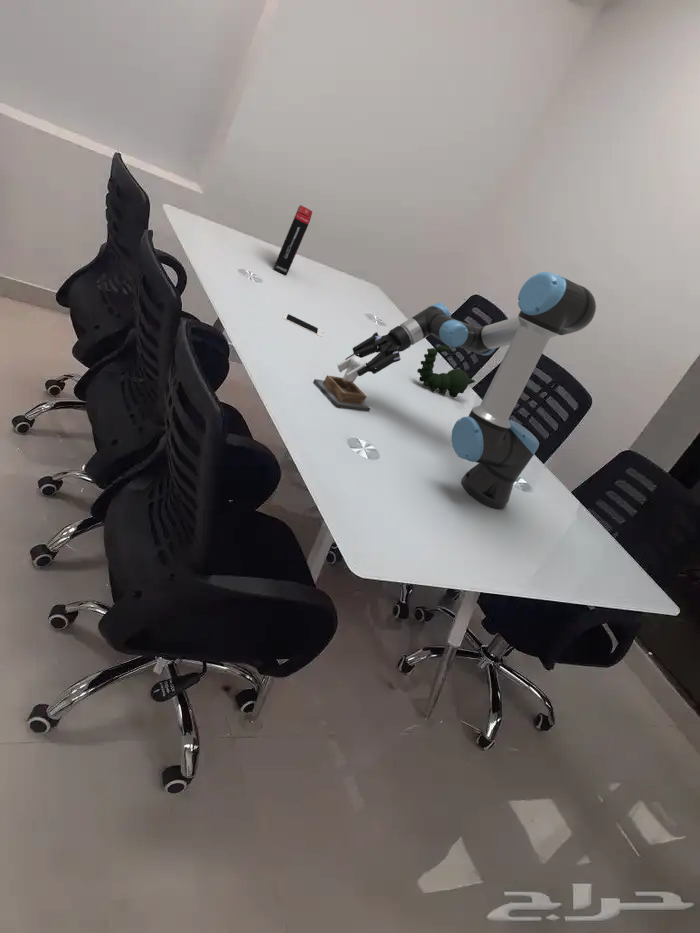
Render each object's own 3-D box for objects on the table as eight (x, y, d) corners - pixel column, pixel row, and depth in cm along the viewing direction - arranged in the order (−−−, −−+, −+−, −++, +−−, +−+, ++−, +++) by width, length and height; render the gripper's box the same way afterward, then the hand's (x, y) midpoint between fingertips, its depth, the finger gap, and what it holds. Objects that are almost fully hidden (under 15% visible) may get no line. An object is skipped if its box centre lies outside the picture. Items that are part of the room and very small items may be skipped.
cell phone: (321, 338, 267) (322, 336, 267) (281, 319, 264) (282, 317, 264) (322, 331, 274) (323, 330, 274) (283, 313, 271) (284, 311, 271)
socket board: (368, 411, 227) (374, 400, 225) (335, 407, 217) (341, 395, 216) (345, 387, 235) (351, 376, 234) (313, 382, 226) (318, 370, 224)
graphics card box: (286, 276, 314) (312, 218, 302) (271, 269, 312) (297, 210, 300) (289, 267, 329) (314, 211, 317) (275, 260, 327) (299, 204, 315)
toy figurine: (416, 392, 270) (470, 405, 281) (437, 348, 261) (492, 363, 272) (407, 380, 277) (460, 393, 288) (427, 337, 268) (482, 352, 279)
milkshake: (353, 390, 223) (368, 363, 218) (338, 381, 222) (353, 354, 218) (356, 385, 227) (371, 359, 222) (341, 377, 227) (356, 350, 222)
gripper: (423, 358, 223) (360, 397, 218) (391, 330, 233) (331, 366, 229) (419, 341, 217) (355, 380, 212) (387, 312, 227) (326, 349, 223)
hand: (343, 373), depth 221 cm, fingers closed on milkshake, 4 cm apart
